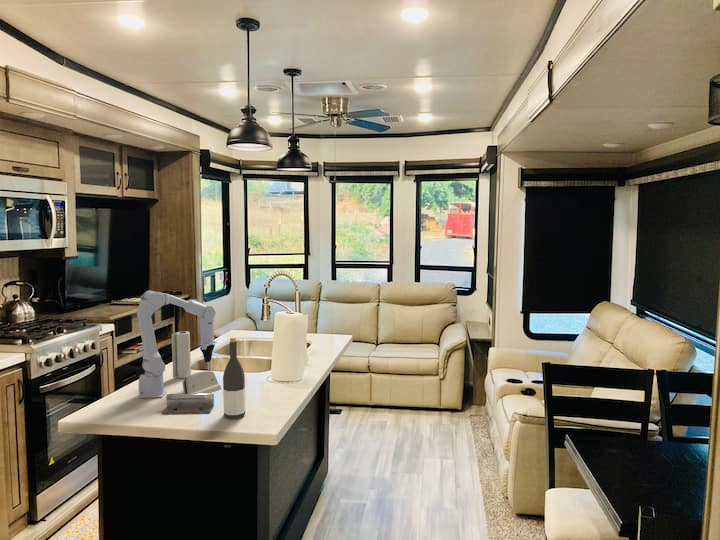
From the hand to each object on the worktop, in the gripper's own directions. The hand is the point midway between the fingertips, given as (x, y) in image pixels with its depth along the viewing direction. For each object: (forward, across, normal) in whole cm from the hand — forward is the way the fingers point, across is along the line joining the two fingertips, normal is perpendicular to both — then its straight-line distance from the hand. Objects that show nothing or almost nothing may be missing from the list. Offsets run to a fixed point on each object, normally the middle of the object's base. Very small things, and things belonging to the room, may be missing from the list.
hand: (208, 361), depth 248 cm
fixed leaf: (+10, -35, 0) cm, 36 cm away
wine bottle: (+10, -42, -19) cm, 47 cm away
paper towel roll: (+10, +10, +14) cm, 20 cm away
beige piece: (+10, -14, 0) cm, 17 cm away
